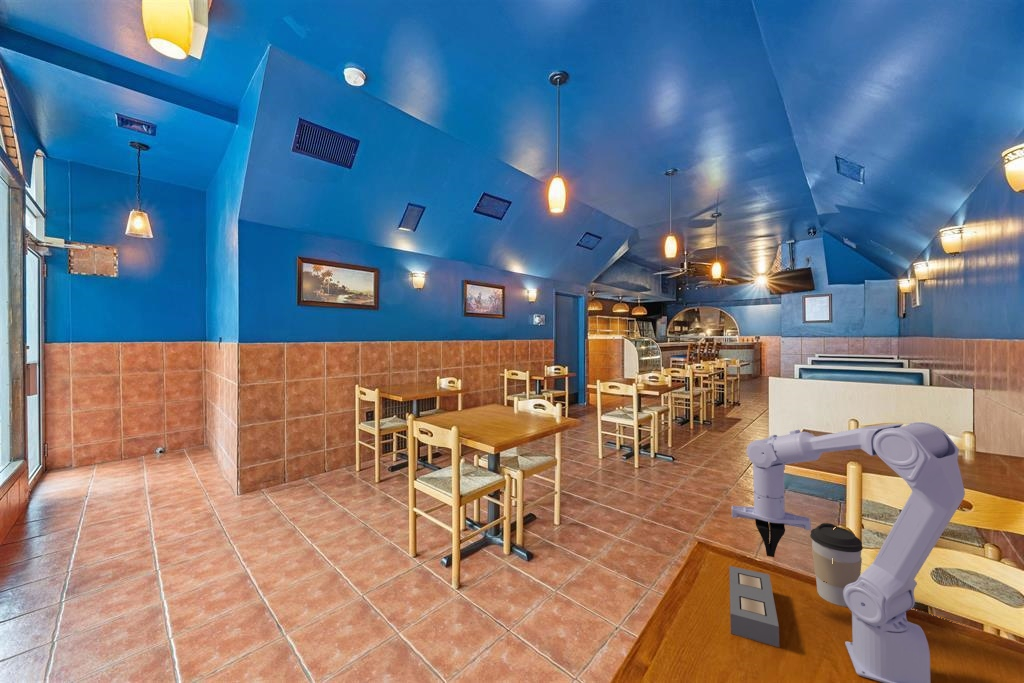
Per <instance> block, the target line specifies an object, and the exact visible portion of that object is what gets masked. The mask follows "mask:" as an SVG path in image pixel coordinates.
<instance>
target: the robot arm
mask: <svg viewBox="0 0 1024 683" xmlns="http://www.w3.org/2000/svg"><path fill="white" fill-rule="evenodd" d="M858 449H859V450H860V449H861V450H862V451H863V452H865V453H867V454H868V455H869V456H872V457H874V456H878V457H879V458H880V459H881V461H883V462H884V464H886V466H888V467H889V468H890V469H891V470H893V471H894V473H896V475H898V476H899V477H900V478H901V479H903V481H905V482H906V483H907V485H908V487H909V488H910V489H911V493H910V495H909V497H908V498H907V501H905V503H904V506H903V507H902V509H901V510H900V513H899V514H898V516H897V518H896V521H895V522H894V523H893V525H892V527H891V529H890V530H889V533H888V534H887V537H886V538H885V539H884V542H883V543H882V545H881V547H880V548H879V550H878V553H877V554H876V556H875V558H874V560H873V562H872V563H871V564H870V565H869V566H868V567H867V568H866V569H865V570H863V572H861V574H860V576H859V578H858V580H857V581H856V582H853V583H850V584H848V585H846V586H845V588H844V590H843V596H844V600H845V602H846V604H847V606H848V607H847V608H848V609H849V611H851V627H852V628H851V629H852V631H851V632H852V633H851V634H852V636H851V638H852V642H850V641H844V642H845V643H844V644H845V648H846V649H847V652H848V655H849V657H850V660H851V663H852V665H853V668H854V670H855V673H856V674H857V675H858V676H860V677H863V678H867V679H871V680H874V681H877V682H880V683H931V654H930V653H931V652H930V648H929V647H930V646H929V643H928V639H927V637H926V634H925V631H924V630H923V629H922V627H921V626H920V625H919V624H916V623H913V622H911V621H908V619H907V612H908V611H911V610H912V609H913V608H914V606H915V604H916V599H915V589H916V587H917V585H918V583H917V581H916V580H915V579H916V577H917V575H918V574H919V572H920V570H921V569H922V567H923V565H924V564H925V563H926V560H927V559H928V558H929V556H930V554H931V553H932V551H933V549H935V546H936V545H937V543H938V541H939V539H940V537H941V536H942V535H943V533H944V531H945V529H946V528H947V527H948V524H949V523H950V522H951V520H952V518H953V517H954V515H955V513H956V512H957V510H958V508H959V506H961V504H962V502H963V500H964V498H965V495H966V492H965V488H964V482H963V478H962V474H961V470H960V466H959V462H958V458H959V451H960V449H959V447H958V446H957V444H955V442H954V441H953V440H952V439H951V438H950V436H949V435H948V434H947V433H946V431H944V430H943V428H940V427H938V426H936V425H934V424H931V423H930V422H929V423H928V422H912V423H909V424H907V425H904V424H903V423H894V424H892V423H891V424H881V425H880V424H878V425H868V426H863V427H859V428H853V429H849V430H843V431H838V432H833V433H828V434H822V435H818V436H815V435H814V434H812V433H810V432H807V431H801V430H800V429H796V430H795V429H794V430H790V431H789V434H785V435H783V434H782V435H777V434H773V435H769V436H768V438H762V439H754V440H753V441H751V442H750V443H749V444H748V445H747V447H746V455H747V458H748V459H749V461H750V462H751V464H752V478H753V479H752V482H753V506H740V505H739V506H737V505H731V517H732V518H734V519H737V518H742V519H746V520H747V519H748V520H753V521H754V522H755V527H756V529H757V531H758V533H759V534H760V537H761V539H762V542H763V544H764V547H765V552H766V553H765V554H766V556H767V557H770V558H775V557H776V556H775V554H776V550H777V548H778V545H779V542H780V541H781V539H782V538H783V536H784V535H785V533H786V528H785V526H789V527H795V528H796V527H798V528H802V529H804V530H806V531H811V530H812V527H811V526H812V523H811V522H812V521H811V519H810V517H806V516H803V515H802V516H801V515H798V514H793V513H790V512H786V510H785V509H786V505H785V504H786V503H785V499H786V498H785V470H786V465H789V464H790V465H791V464H799V463H806V462H814V461H817V460H819V459H820V458H821V456H822V454H823V453H831V452H840V451H849V450H858Z"/></svg>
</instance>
